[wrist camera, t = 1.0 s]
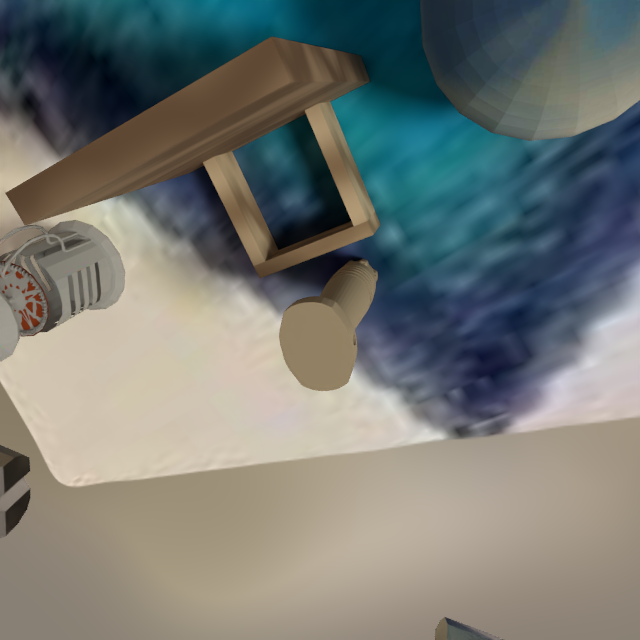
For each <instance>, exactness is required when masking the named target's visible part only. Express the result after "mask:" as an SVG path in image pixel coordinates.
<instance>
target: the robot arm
mask: <svg viewBox="0 0 640 640" xmlns="http://www.w3.org/2000/svg"><path fill="white" fill-rule="evenodd" d="M29 471H30V460H29V457H27V456H25V455H22V454H20V453H18V452H15V451H13V450H11V449H8V448H5V447H4V446H1V445H0V538H2V537H5V536H6V535H7V534H8V533H9V532H10V531H11V530H12V529H13V528H14V527H15V526H16V525H17V524H18V523H19V521H20V520H21V518H22V516H23V515H24V513H25V511H26V510H27V507H28V504H29V501H30V487H29V485H28V483H27V482H26V480H25V479H24V476H25V475H26V474H27V473H28V472H29ZM435 640H503V639H500V638H499V637H497V636H494V635H492V634H489V633H486V632H484V631H481V630H478V629H475V628H473V627H470V626H468V625H465V624H462V623H459V622H457V621H454V620H451V619H449V618H446V617H444V618H443V619H442V620H441V621H440V622H439V624H438V626H437V628H436V632H435Z"/></svg>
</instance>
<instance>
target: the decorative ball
mask: <svg viewBox="0 0 640 640" xmlns="http://www.w3.org/2000/svg"><path fill="white" fill-rule="evenodd" d="M420 5H421V25H422V45H423V49H424V51H425V54H426V57H427V60H428V62H429V65H430V68H431V71H432V73H433V76H434V79H435V82H436V84H437V85H438V87H439V88H440V89H441V90H442V92H443V93H444V94H445V95H446V97H447V98H448V99H449V100H450V102H451V103H452V104H453V105H454V107H455V108H456V109H457V110H458V112H459V113H460V114H462V115H464V116H465V117H467V118H469V119H470V120H472V121H473V122H475V123H477V124H478V125H480V126H482V127H483V128H485V129H486V130H488V131H490V132H492V133H496V134H501V135H505V136H510V137H515V138H519V139H524V140H529V141H533V140H543V139H553V138H562V137H572V136H575V135H577V134H579V133H582V132H584V131H587V130H589V129H592V128H594V127H597V126H599V125H601V124H604V123H606V122H609V121H611V120H614V119H615V118H617V117H618V116H619V115H621V114H622V113H623V112H624V111H626V110H627V109H628V108H630V107H631V106H632V105H634V104H635V103H636V102H638V101H639V100H640V0H420Z"/></svg>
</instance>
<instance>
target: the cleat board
mask: <svg viewBox="0 0 640 640" xmlns="http://www.w3.org/2000/svg"><path fill="white" fill-rule="evenodd" d="M368 82H370V79H369V77H368V74H367V71H366V69H365V66H364V64H363V61H362V58H361V56H360V55H356V54H351V53H347V52H342V51H337V50H332V49H328V48H323V47H318V46H314V45H309V44H304V43H299V42H295V41H290V40H285V39H281V38H276V37H270V38H268V39H266V40H265V41H263V42H261V43H260V44H258V45H256V46H255V47H253V48H251V49H249V50H248V51H246V52H244V53H243V54H241V55H239V56H238V57H236V58H234V59H233V60H231V61H229V62H227V63H226V64H224V65H222V66H221V67H219V68H217V69H216V70H214V71H212V72H210V73H209V74H207V75H205V76H204V77H202V78H200V79H199V80H197V81H195V82H193V83H192V84H190V85H188V86H187V87H185V88H183V89H182V90H180V91H178V92H176V93H175V94H173V95H171V96H170V97H168V98H166V99H165V100H163V101H161V102H159V103H158V104H156V105H154V106H153V107H151V108H149V109H148V110H146V111H144V112H142V113H141V114H139V115H137V116H136V117H134V118H132V119H131V120H129V121H127V122H125V123H124V124H122V125H120V126H119V127H117V128H115V129H114V130H112V131H110V132H108V133H107V134H105V135H103V136H102V137H100V138H98V139H97V140H95V141H93V142H91V143H90V144H88V145H86V146H85V147H83V148H81V149H80V150H78V151H76V152H74V153H73V154H71V155H69V156H68V157H66V158H64V159H63V160H61V161H59V162H57V163H56V164H54V165H52V166H51V167H49V168H47V169H46V170H44V171H42V172H40V173H39V174H37V175H35V176H34V177H32V178H30V179H29V180H27V181H25V182H23V183H22V184H20V185H18V186H17V187H15V188H13V189H12V190H10V191H8V192H7V193H6V195H7V196H8V198H9V200H10V201H11V203H12V205H13V206H14V208H15V210H16V211H17V213H18V215H19V216H20V218H21V220H22V221H23V223H24V224H25V225H28V224H31V223H34V222H37V221H41V220H44V219H47V218H50V217H53V216H56V215H59V214H62V213H66V212H69V211H72V210H75V209H78V208H81V207H84V206H88V205H91V204H94V203H97V202H100V201H103V200H106V199H109V198H113V197H116V196H119V195H122V194H125V193H128V192H131V191H135V190H138V189H141V188H144V187H147V186H150V185H153V184H156V183H160V182H163V181H166V180H169V179H172V178H175V177H178V176H181V175H185V174H188V173H190V172H192V171H194V170H196V169H198V168H200V167H202V166H205V168H206V170H207V172H208V174H209V176H210V178H211V180H212V182H213V184H214V186H215V188H216V190H217V192H218V194H219V196H220V198H221V200H222V202H223V204H224V206H225V208H226V210H227V213H228V215H229V217H230V219H231V221H232V223H233V225H234V227H235V229H236V231H237V233H238V235H239V237H240V239H241V241H242V243H243V245H244V247H245V249H246V251H247V253H248V255H249V257H250V259H251V262H252V264H253V266H254V268H255V270H256V272H257V274H258V276H259V278H262V277H265V276H267V275H270V274H272V273H275V272H278V271H280V270H283V269H286V268H288V267H291V266H293V265H296V264H299V263H301V262H304V261H306V260H309V259H312V258H314V257H317V256H319V255H322V254H325V253H327V252H330V251H332V250H335V249H338V248H340V247H343V246H345V245H348V244H351V243H353V242H356V241H358V240H361V239H364V238H366V237H369V236H371V235H373V234H374V233H375V232H376V230H377V229H378V227H379V226H380V222H379V220H378V218H377V215H376V213H375V210H374V208H373V205H372V203H371V200H370V198H369V196H368V193H367V191H366V188H365V186H364V183H363V181H362V179H361V176H360V174H359V171H358V169H357V166H356V164H355V161H354V159H353V157H352V154H351V152H350V149H349V147H348V144H347V142H346V139H345V137H344V135H343V132H342V130H341V127H340V125H339V122H338V120H337V118H336V115H335V113H334V110H333V108H332V105H331V103H330V101H332V100H334V99H336V98H338V97H340V96H342V95H344V94H346V93H348V92H350V91H352V90H354V89H356V88H358V87H360V86H362V85H364V84H366V83H368ZM305 114H306V115H307V117H308V120H309V122H310V124H311V127H312V129H313V131H314V134H315V136H316V138H317V141H318V143H319V146H320V148H321V150H322V153H323V155H324V157H325V160H326V162H327V164H328V167H329V169H330V171H331V174H332V176H333V178H334V181H335V183H336V186H337V188H338V190H339V193H340V195H341V197H342V200H343V202H344V204H345V207H346V209H347V211H348V214H349V216H350V218H351V221H350V222H348V223H345V224H343V225H340V226H338V227H335V228H333V229H330V230H328V231H325V232H323V233H320V234H318V235H315V236H313V237H310V238H308V239H305V240H303V241H300V242H298V243H295V244H293V245H290V246H288V247H285V248H283V249H280V250H278V248H277V246H276V244H275V242H274V239H273V237H272V235H271V233H270V231H269V229H268V227H267V225H266V222H265V220H264V218H263V216H262V214H261V212H260V210H259V208H258V206H257V203H256V201H255V199H254V197H253V195H252V193H251V191H250V189H249V186H248V184H247V182H246V180H245V178H244V176H243V174H242V172H241V169H240V167H239V165H238V163H237V161H236V159H235V157H234V155H233V153H232V151H234V150H236V149H238V148H240V147H242V146H244V145H246V144H248V143H250V142H252V141H254V140H255V139H257V138H259V137H261V136H263V135H265V134H267V133H269V132H271V131H273V130H275V129H277V128H279V127H281V126H283V125H285V124H287V123H289V122H291V121H293V120H295V119H297V118H299V117H301V116H303V115H305Z"/></svg>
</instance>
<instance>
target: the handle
mask: <svg viewBox="0 0 640 640" xmlns="http://www.w3.org/2000/svg"><path fill="white" fill-rule="evenodd" d="M377 278H378V274H377V271H376V270H374V269H373V268H372V267H371V266H370V265H369V263H368V261H367V260H365V259H362V260H360V261H352V260H351V261H349V262H347V263H346V264H345V265H344V267H342V268H341V269H339V270H338V271H337V272H336V273H335V274H334V275H333V276H332V277H331V279H330V280H329V281H328V283H327V284H326V286H325V287H324V289H323V291H322V293H321V295H320V297H319V296H314V297H306V298H302V299H300V300H297V301H296V302H294V303H293V304H292V305H290V306H289V307H288V308H287V309H286V311H285V312H284V314H283V318H282V322H281V327H280V335H279V338H280V345H281V348H282V352H283V356H284V359H285V362H286V364H287V366H288V368H289V369H290V371H291V372H292V373H293V375H294V376H295V377H296V378H297V380H298V381H299V382H300V383H301V385H303V386H305V387H307V388H309V389H312V390H318V391H328V390H334V389H338V388H340V387H342V386H344V385H345V384H347V383H348V381H349V379H350V376H351V373H352V370H353V367H354V363H355V360H356V355H357V339H356V333H355V328H356V327H357V325H358V324H359V323H360V321H361V320H362V318H363V317H364V315H365V314H366V312H367V311H368V309H369V307H370V304H371V302H372V300H373V296H374V293H375V288H376V281H377Z"/></svg>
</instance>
